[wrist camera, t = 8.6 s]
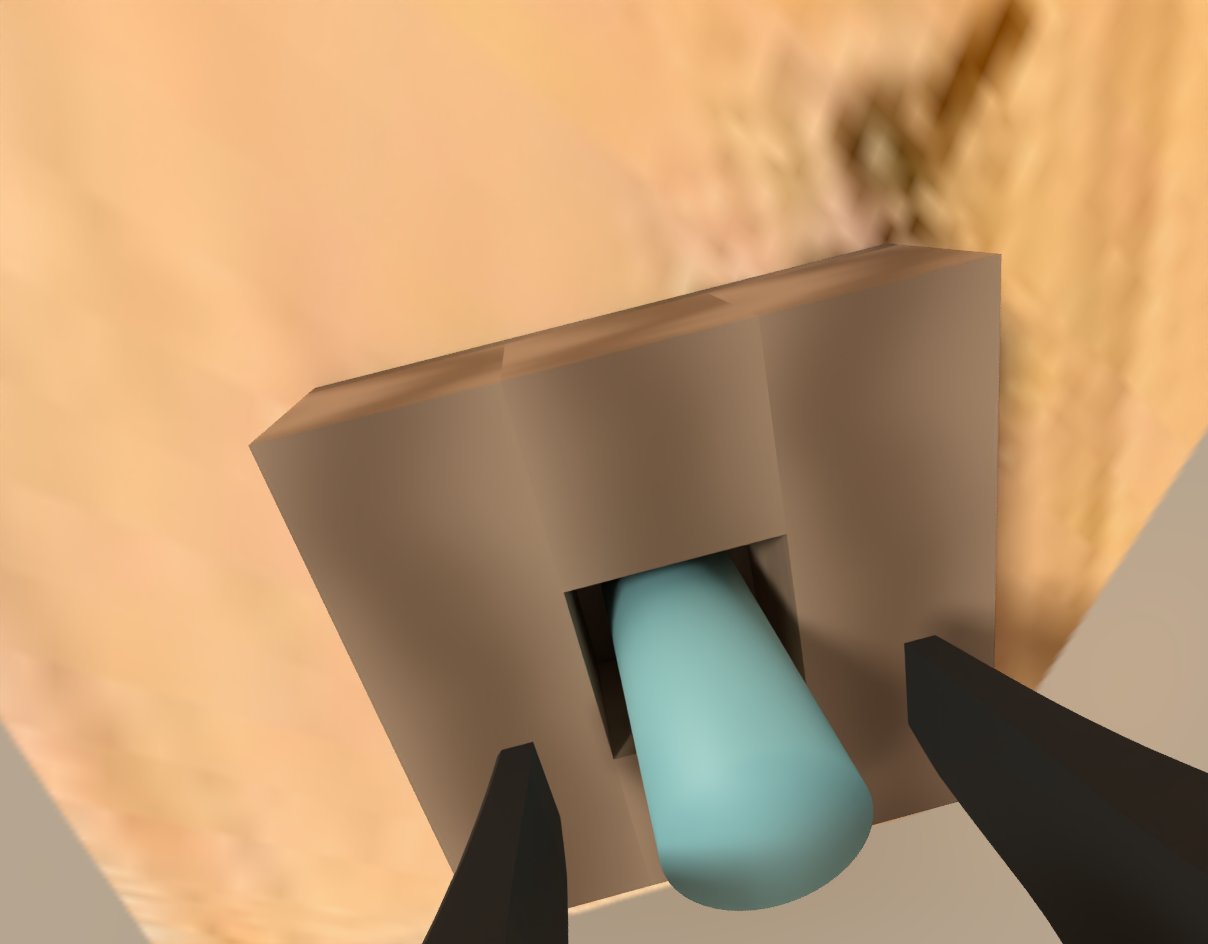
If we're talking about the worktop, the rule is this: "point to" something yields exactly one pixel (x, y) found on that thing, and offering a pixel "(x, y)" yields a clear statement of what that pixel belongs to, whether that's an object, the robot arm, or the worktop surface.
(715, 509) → the socket block
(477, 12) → the worktop surface
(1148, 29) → the worktop surface
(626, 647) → the teal pin
